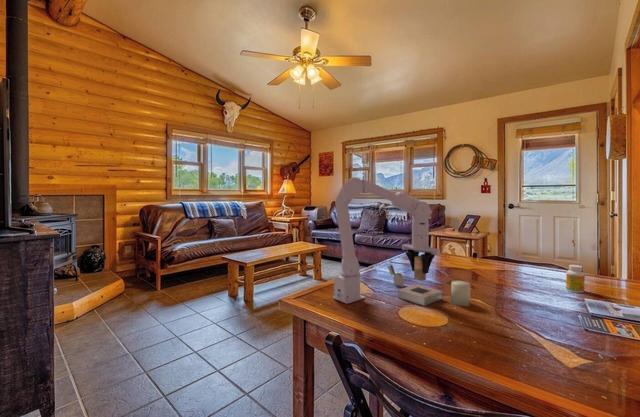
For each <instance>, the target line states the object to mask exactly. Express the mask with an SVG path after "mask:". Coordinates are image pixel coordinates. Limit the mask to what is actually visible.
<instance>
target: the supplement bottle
mask: <svg viewBox="0 0 640 417" xmlns="http://www.w3.org/2000/svg"><path fill="white" fill-rule="evenodd" d="M568 268H569V269H568V270H567V271H566V275H565V276H566V277H565V278H566V280H565V290H566V291H568V292H572V293H576V294H577V293H580V294H581V293H584V292H585V277H586V276H585V272H583V266H582V265H577V264H569V265H568Z"/></svg>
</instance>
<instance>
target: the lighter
mask: <svg viewBox="0 0 640 417" xmlns="http://www.w3.org/2000/svg"><path fill="white" fill-rule="evenodd" d="M387 269H388V272H389V275H390V276H393V286H397V287H401V288H404V287H405V275H403V274H402V272H398V271H397V272H396V271H395V268H394V266H393V264H388V265H387Z"/></svg>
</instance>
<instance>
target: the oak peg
mask: <svg viewBox="0 0 640 417" xmlns="http://www.w3.org/2000/svg"><path fill="white" fill-rule="evenodd" d="M413 273H414V274H413V275H414V276H413V278H414V279H415V280H417V281H426V280H427V273H426V274H423V263H422V258H421V255H419V256H414V271H413Z"/></svg>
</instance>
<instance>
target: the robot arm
mask: <svg viewBox="0 0 640 417" xmlns="http://www.w3.org/2000/svg"><path fill="white" fill-rule="evenodd" d="M360 194H373V195H375V196H378V197H380V198H382V199H385V200H387V201H389V202H391V205H392V207H394V208H397V209H399V210H400V211H401V210H402V211H403V212H405V213H408V214H411V218H412V219H411V244H410V243H409V244H407V243H404V244H403V243H402V244H401V250H403V251H406V252H405V255H406V257H407V259H408V261H409V263H410V268H411V270H412V272H414V256H421V258H422V263H423V274H426V275H427V274H429V272H430V267H431V264H432V262H433V260H434V258H435V257H436V256H440V255H441V249H440V248H435V247H431V246H430V245H429V242H430V241H429V235H430V231H429V229H430V228H429V225H430V224H429V216H431V213H432V209H431V206H430V205H429V204H428V203H427V202H425V201H421V200H420V198H418V197H413V196H410V195H408V193H407V192H406V191H397V192H395V193H394V192H392V191H391V190H389V189H386V188H384V187H383V186H380V185H378V184H376V183H374V182H372V181H369V180H365V179H360V177H355V176H354V177H350V178H349V179H347V180H346V182H344V183H343V185H342V186H341V187H340V190H339V193H337V196H336V198H335V199H334V200H335V202H334V203H335V204H334V205H335V210H336V212H335V213H336V219H337V224H338V225H337V226H338V231H339V237H340V238H339V239H340V245H341V253H342V258H341V271H340V275H339V276H337V277H335V278H334V280H333V296H332V299H334V300H337V301H339V302H342V303H344V304H346V305H347V304H351V303H353V302H358V301H360V300H364V299H366V296H364V295H361V272H360V269H361V266H360V265H361V264H360V263H359V259H358V257H357V255H356V253H355V245H354V238H353V231H352V225H351V218H350V211H349V204H350V203H351V202H352V201H353V199H354V198H356V197H357V196H358V195H360ZM421 253H422V254H421Z"/></svg>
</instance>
